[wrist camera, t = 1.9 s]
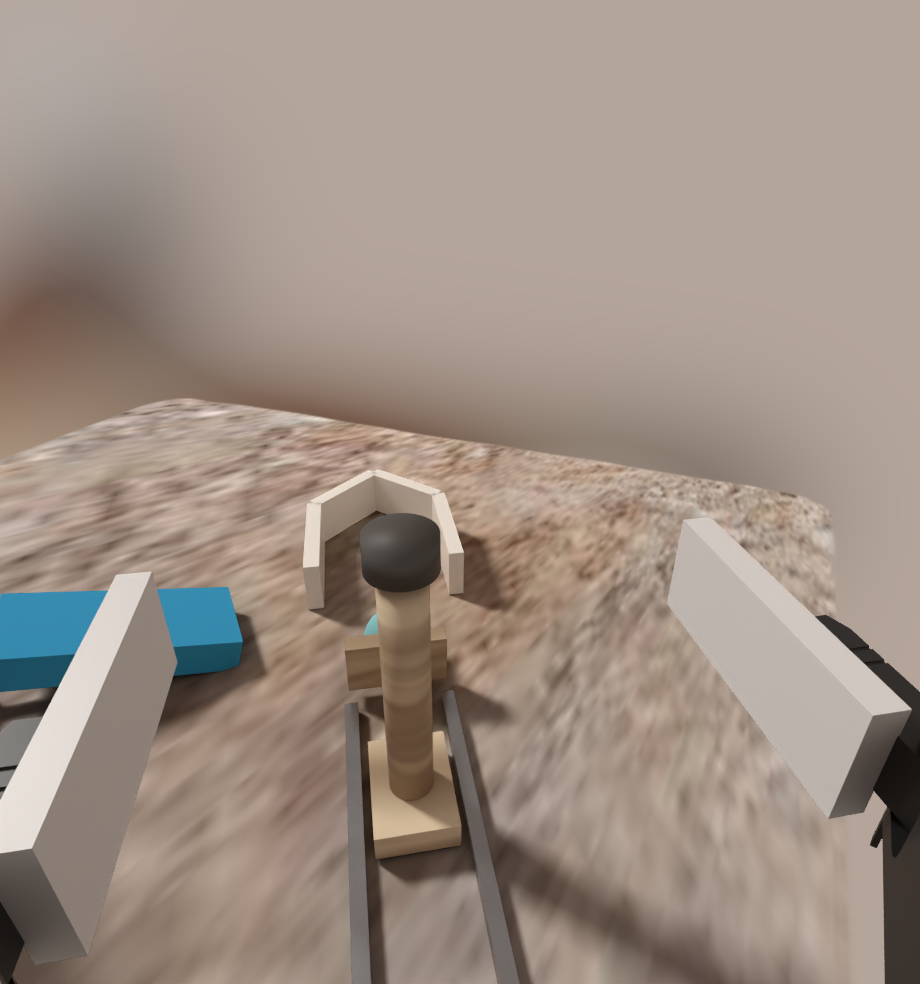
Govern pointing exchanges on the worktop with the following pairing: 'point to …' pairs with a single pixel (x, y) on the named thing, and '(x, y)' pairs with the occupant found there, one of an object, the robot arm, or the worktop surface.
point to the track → (477, 838)
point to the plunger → (405, 688)
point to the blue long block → (68, 615)
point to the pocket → (362, 500)
